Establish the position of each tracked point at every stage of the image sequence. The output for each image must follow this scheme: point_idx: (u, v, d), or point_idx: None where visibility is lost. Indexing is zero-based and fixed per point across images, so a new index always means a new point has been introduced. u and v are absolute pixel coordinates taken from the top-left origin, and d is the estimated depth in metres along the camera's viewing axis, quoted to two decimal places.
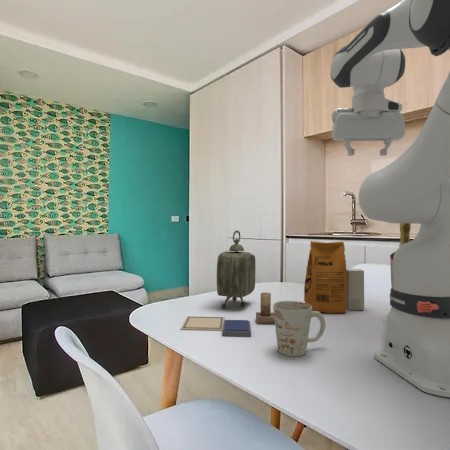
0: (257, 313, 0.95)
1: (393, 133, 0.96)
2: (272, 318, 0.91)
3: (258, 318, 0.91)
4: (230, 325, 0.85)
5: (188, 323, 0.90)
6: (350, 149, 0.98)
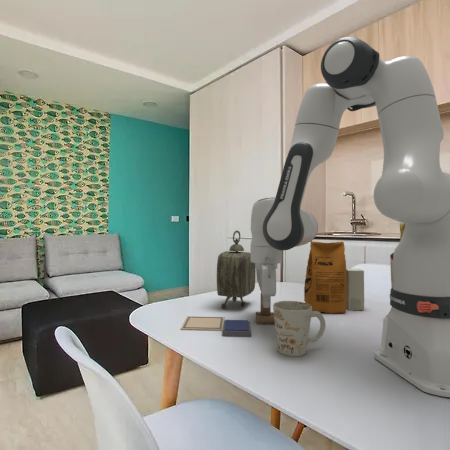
0: (257, 313, 0.95)
1: None
2: (272, 318, 0.91)
3: (258, 318, 0.91)
4: (230, 325, 0.85)
5: (188, 323, 0.90)
6: (269, 302, 0.91)
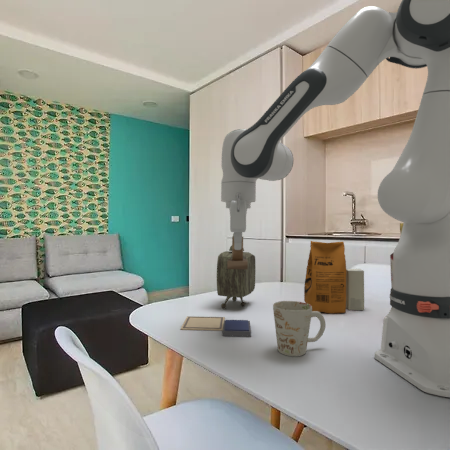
0: (229, 259, 0.87)
1: None
2: (244, 262, 0.83)
3: (229, 262, 0.84)
4: (230, 325, 0.85)
5: (188, 323, 0.90)
6: None
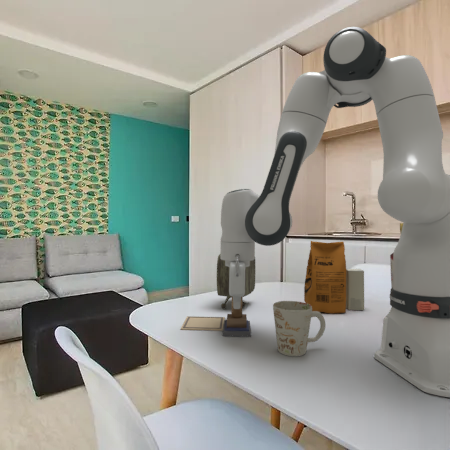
0: (228, 315, 0.88)
1: None
2: (243, 320, 0.84)
3: (228, 320, 0.84)
4: None
5: (188, 323, 0.90)
6: None
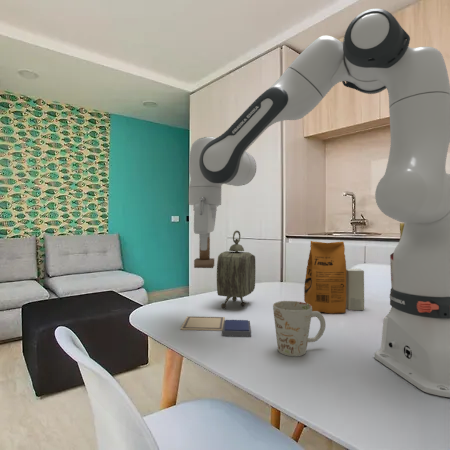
0: (197, 258, 0.93)
1: (213, 226, 0.98)
2: (209, 261, 0.89)
3: (195, 261, 0.89)
4: (230, 325, 0.85)
5: (188, 323, 0.90)
6: None
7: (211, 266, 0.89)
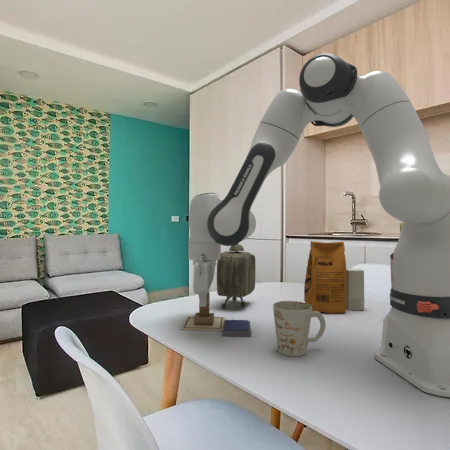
0: (197, 313, 0.93)
1: None
2: (209, 319, 0.89)
3: (195, 319, 0.89)
4: (230, 325, 0.85)
5: (188, 323, 0.90)
6: (206, 300, 0.88)
7: (211, 324, 0.89)
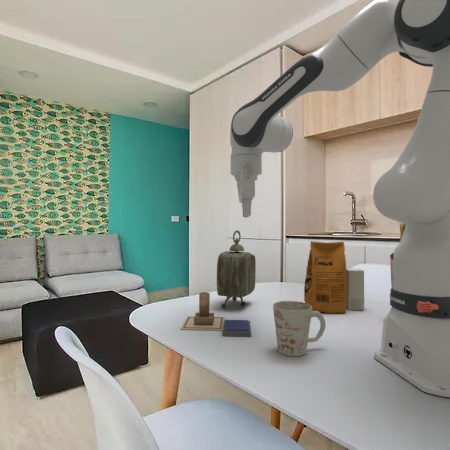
0: (197, 313, 0.93)
1: None
2: (209, 319, 0.89)
3: (195, 319, 0.89)
4: (230, 325, 0.85)
5: (188, 323, 0.90)
6: (250, 210, 0.89)
7: (211, 324, 0.89)
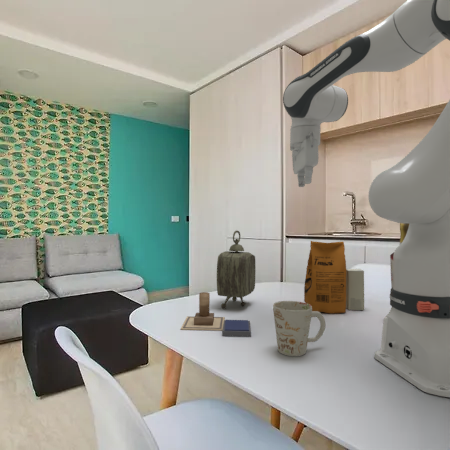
0: (197, 313, 0.93)
1: None
2: (209, 319, 0.89)
3: (195, 319, 0.89)
4: (230, 325, 0.85)
5: (188, 323, 0.90)
6: None
7: (211, 324, 0.89)
